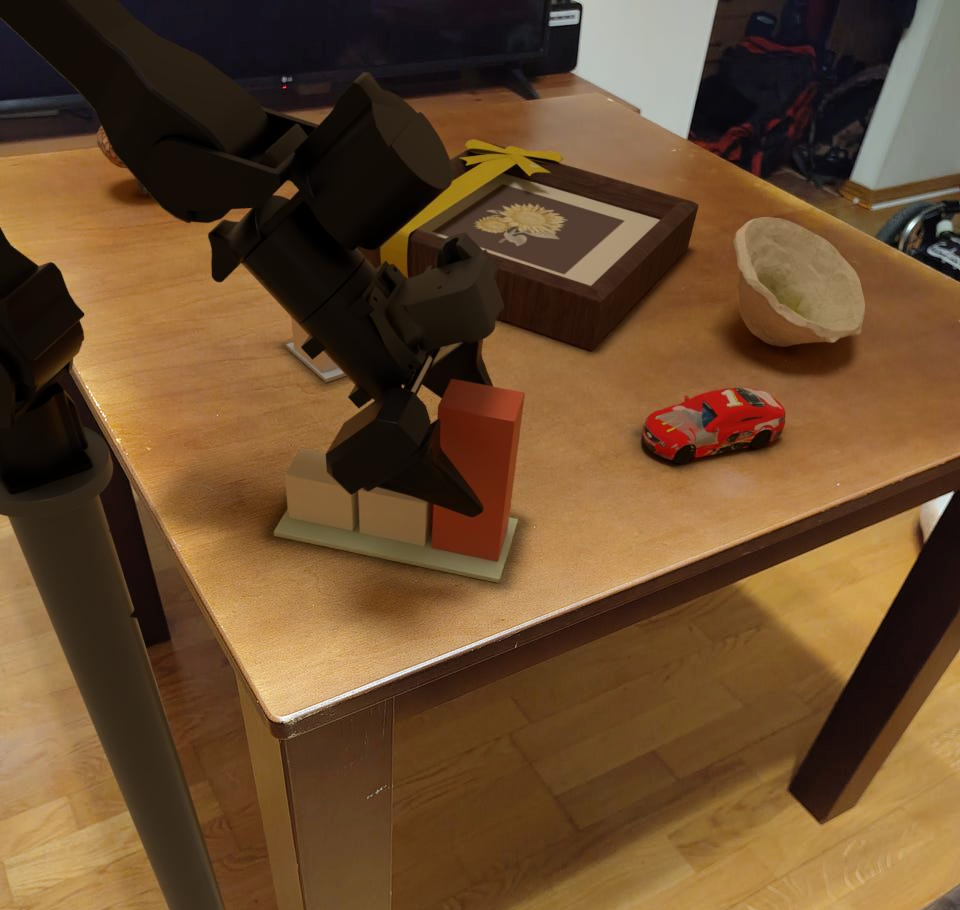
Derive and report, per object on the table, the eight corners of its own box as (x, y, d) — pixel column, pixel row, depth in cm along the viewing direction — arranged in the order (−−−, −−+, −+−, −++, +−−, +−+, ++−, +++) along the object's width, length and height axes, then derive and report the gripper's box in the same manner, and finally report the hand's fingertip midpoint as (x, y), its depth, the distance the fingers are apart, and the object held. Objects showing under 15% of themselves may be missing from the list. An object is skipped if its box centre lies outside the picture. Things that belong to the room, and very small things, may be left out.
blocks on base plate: (325, 382, 79) (323, 337, 76) (286, 348, 83) (281, 303, 80) (467, 336, 87) (470, 293, 84) (425, 305, 90) (426, 263, 87)
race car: (657, 471, 74) (668, 430, 71) (627, 434, 78) (637, 394, 75) (788, 446, 78) (804, 406, 75) (755, 412, 81) (768, 373, 78)
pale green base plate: (273, 535, 65) (267, 488, 62) (307, 479, 70) (303, 432, 67) (499, 583, 64) (505, 536, 60) (517, 522, 68) (524, 476, 65)
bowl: (805, 394, 84) (845, 293, 77) (682, 336, 90) (708, 236, 83) (875, 342, 92) (917, 245, 85) (758, 291, 98) (788, 197, 91)
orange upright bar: (431, 548, 65) (437, 406, 56) (443, 518, 67) (451, 378, 59) (497, 562, 65) (514, 421, 56) (507, 531, 67) (525, 392, 58)
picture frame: (345, 206, 89) (486, 126, 107) (347, 271, 94) (482, 183, 112) (601, 290, 81) (706, 188, 100) (589, 355, 86) (691, 246, 105)
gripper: (373, 283, 43) (565, 506, 50) (463, 152, 56) (606, 344, 63) (240, 396, 50) (427, 579, 57) (347, 256, 62) (489, 420, 69)
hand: (493, 472), depth 61 cm, fingers open, 9 cm apart
